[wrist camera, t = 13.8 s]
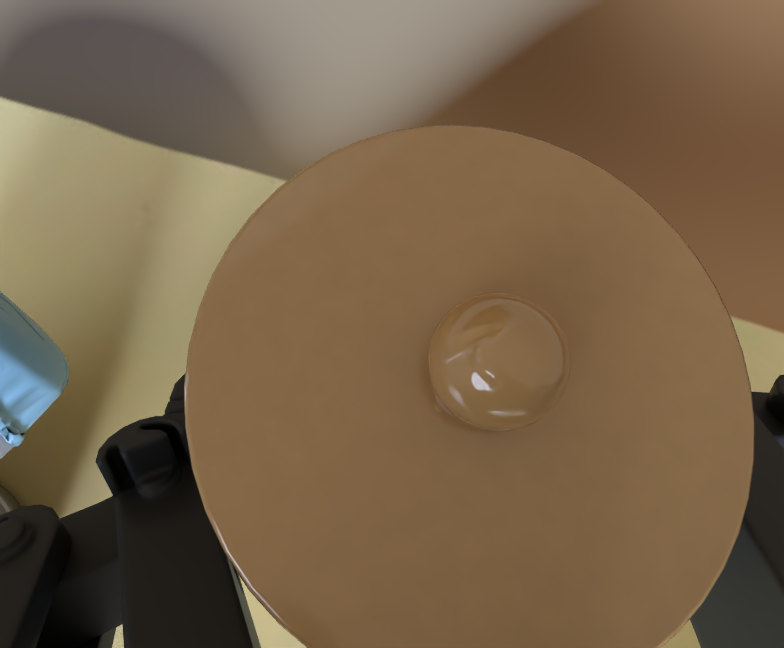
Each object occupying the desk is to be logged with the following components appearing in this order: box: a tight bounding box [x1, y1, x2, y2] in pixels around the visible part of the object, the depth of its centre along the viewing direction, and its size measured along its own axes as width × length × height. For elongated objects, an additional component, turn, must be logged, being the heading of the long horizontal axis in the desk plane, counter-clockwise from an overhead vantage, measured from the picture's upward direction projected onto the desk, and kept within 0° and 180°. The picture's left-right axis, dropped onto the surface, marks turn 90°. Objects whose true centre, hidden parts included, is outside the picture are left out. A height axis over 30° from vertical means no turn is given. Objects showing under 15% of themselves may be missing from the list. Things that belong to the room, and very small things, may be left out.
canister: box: [184, 125, 755, 648], centre depth 10 cm, size 7×7×12 cm
